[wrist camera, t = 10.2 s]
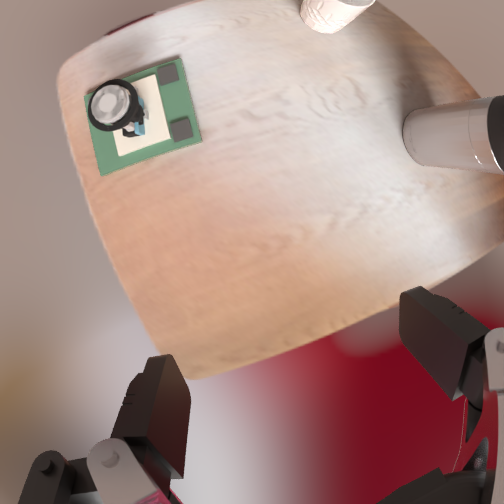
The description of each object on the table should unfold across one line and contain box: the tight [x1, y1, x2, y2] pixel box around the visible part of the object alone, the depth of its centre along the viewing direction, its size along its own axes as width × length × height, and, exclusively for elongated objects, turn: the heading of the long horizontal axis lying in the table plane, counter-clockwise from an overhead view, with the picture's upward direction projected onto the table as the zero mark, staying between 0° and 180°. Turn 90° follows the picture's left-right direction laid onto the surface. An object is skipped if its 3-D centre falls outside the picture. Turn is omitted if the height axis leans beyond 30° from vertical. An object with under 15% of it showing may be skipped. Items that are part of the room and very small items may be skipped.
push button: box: [88, 79, 149, 138], centre depth 26 cm, size 7×5×10 cm
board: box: [84, 58, 202, 176], centre depth 31 cm, size 14×12×2 cm
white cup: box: [300, 0, 375, 34], centre depth 25 cm, size 8×8×10 cm
